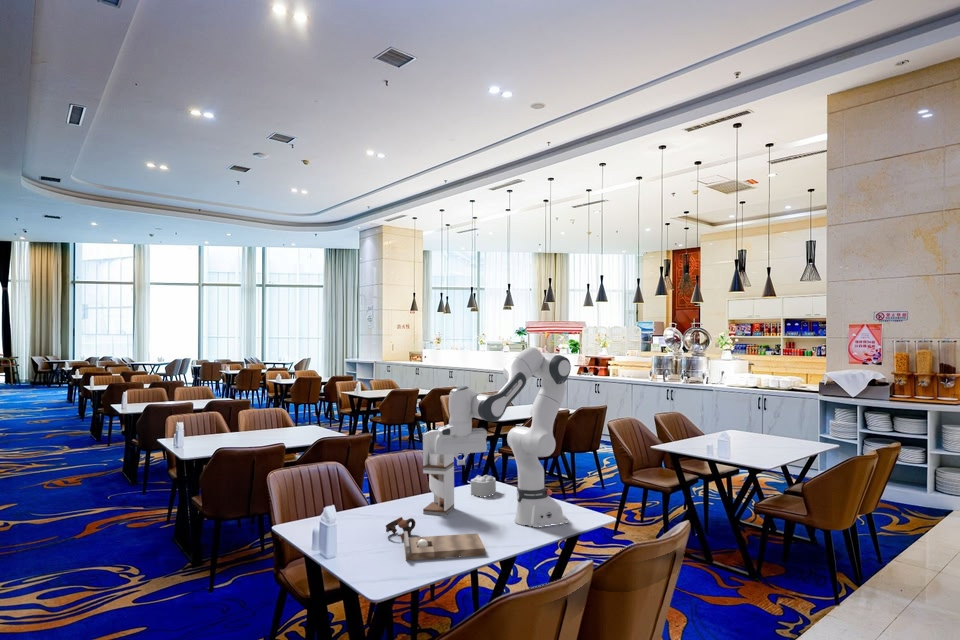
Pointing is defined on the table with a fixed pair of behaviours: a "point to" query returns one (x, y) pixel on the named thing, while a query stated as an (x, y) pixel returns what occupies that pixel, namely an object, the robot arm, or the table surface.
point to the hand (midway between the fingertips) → (461, 464)
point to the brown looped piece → (401, 526)
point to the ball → (422, 543)
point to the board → (443, 546)
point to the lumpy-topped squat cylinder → (483, 485)
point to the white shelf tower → (438, 476)
